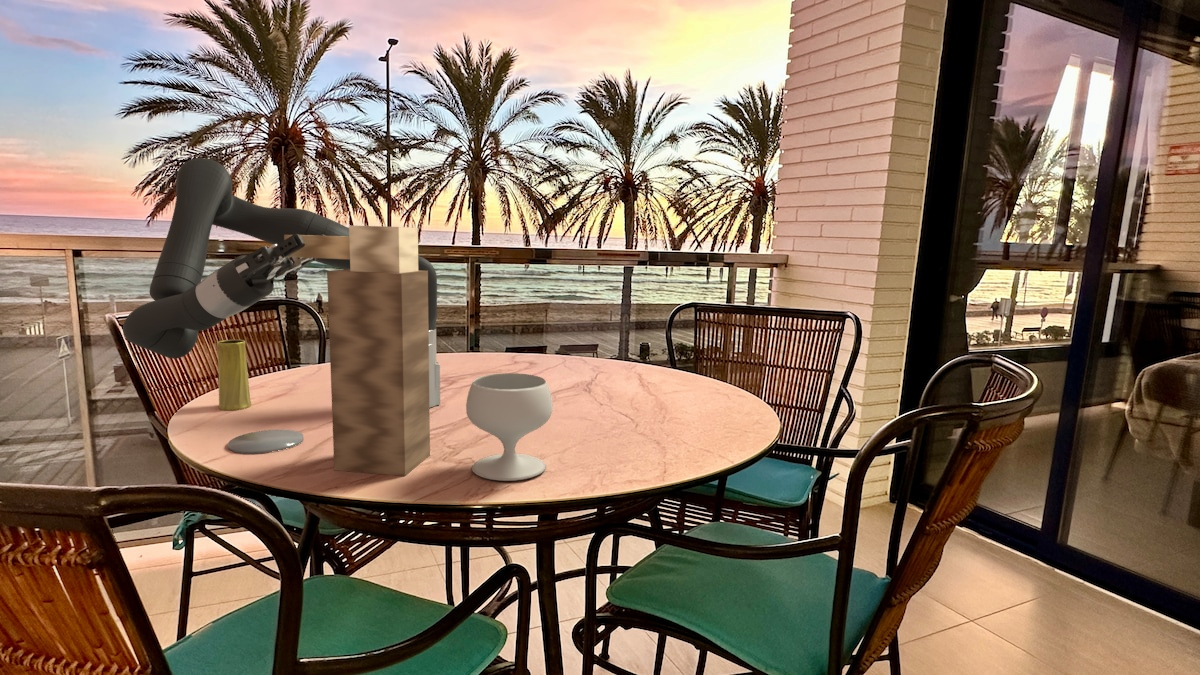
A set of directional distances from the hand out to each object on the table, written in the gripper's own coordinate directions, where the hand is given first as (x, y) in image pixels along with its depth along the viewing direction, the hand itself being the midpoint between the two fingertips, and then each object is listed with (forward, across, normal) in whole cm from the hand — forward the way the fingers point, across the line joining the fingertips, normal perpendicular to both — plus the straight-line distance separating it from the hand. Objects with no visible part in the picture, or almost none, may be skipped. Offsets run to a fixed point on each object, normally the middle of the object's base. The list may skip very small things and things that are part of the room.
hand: (314, 239), depth 102 cm
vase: (-49, +25, +14) cm, 56 cm away
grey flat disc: (-30, +5, +25) cm, 39 cm away
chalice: (+9, +1, +48) cm, 49 cm away
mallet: (+3, 0, +7) cm, 8 cm away
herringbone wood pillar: (-9, 0, +37) cm, 38 cm away
